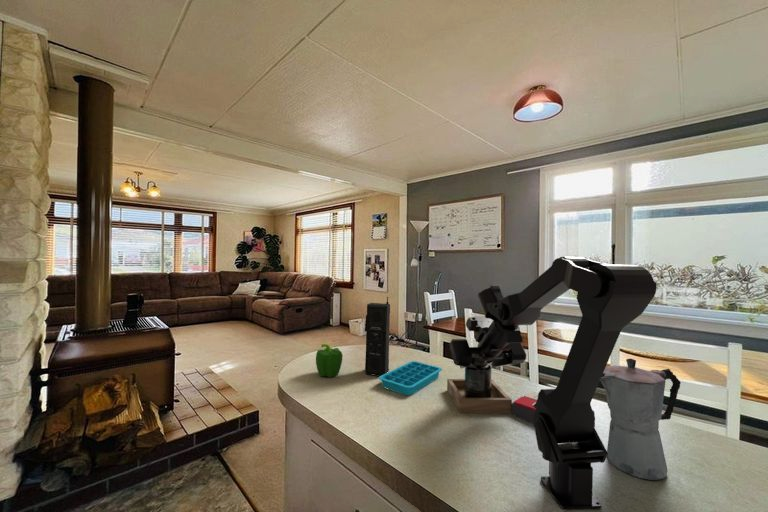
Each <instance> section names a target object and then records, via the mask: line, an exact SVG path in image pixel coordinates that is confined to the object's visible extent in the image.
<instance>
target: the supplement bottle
mask: <svg viewBox="0 0 768 512" xmlns="http://www.w3.org/2000/svg"><path fill="white" fill-rule="evenodd" d="M492 371H493V370H492V366H491V365H490V364H489V359H486V360H484V358H483V357H476V358H472V362H471V364H470V366H468V367H465V368H464V379H465V390H464V391H465V392H464V394H465V398H491V379H492Z"/></svg>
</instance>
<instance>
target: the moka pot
mask: <svg viewBox="0 0 768 512" xmlns="http://www.w3.org/2000/svg"><path fill="white" fill-rule="evenodd" d="M625 360H626V364H627V365H626V366H625V365H614V364H613V365H609V366H606V367H605V370H604V372H603V374H602V377H601V379H600V382H601V384H602V386H603V389H604V390H605V391H604V392H605V397H606V404H607V407H608V409H609V413H610V414H609V415H610V419H611V420H610V421H609V430H608V439H607V447H606V448H607V449H606V451H607V453H608V455H607V457H606V458H607V459H608V461H609V463H611V464H612V465H613V466H614V467H615V468H617V469H619V470H620V471H622V472H624V473H626V474H628V475H630V476H633V477H635V478H639V479H642V480H643V479H645V480H648V481H649V480H650V481H654V480H656V481H657V480H663V479H665V478H666V477H667V475H668V464H667V461H666V457H665V452H664V447H663V441H662V437H661V433H660V430H659V427H660V425H659V424H660V421H663V420H670V419H671V416H672V414H673V411H674V407H675V404H676V401H677V400H676V399H677V398H678V393H679V390H680V389H681V388H680V387H681V381H680V380H679V379H678V378H677V376H676V375H675V374H674V372H673V371H672V370H671V369H669V368H666V369H661V370H659V369H651V370H647V369H643V368H639V367H636V363H637V360H636V359H634V358H626V359H625ZM666 380H670V381H671V383H672V386H670V388H669V398H668V401H667V406H666V409H665V411H664V412H663V405H664V398H665V388H666Z"/></svg>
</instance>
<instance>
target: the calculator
mask: <svg viewBox="0 0 768 512" xmlns="http://www.w3.org/2000/svg"><path fill="white" fill-rule="evenodd" d="M538 393H539V392H536V391H531V390H530V391H529V392H528V393H526V394H524V395H523V396H521V397H519V398H518V399H515V400H513V401H512V403H511V413H510V414H511V416H514V417H517V418H519V419H522V420H524V421H526V422H528V423H530V424H531V423H532V424H533V425H534V422H533V418H534V412H535V409H536V408H534V405H535V404H536V402H537V399H538ZM593 413H594V416H595V410H593ZM595 417H596V416H595ZM594 427H596V422H595V423H594Z"/></svg>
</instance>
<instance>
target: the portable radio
mask: <svg viewBox="0 0 768 512" xmlns="http://www.w3.org/2000/svg"><path fill="white" fill-rule="evenodd" d="M390 313H391V304H390V303H389V296H386V303H380V302H379V303H378V302H370V303H367V304H366V315H365V322H364V323H365V324H364V332H366V336H365V337H366V338H365V359H364V360H365V364H364V374H365V373H367V374H366V375H370V374H374V375H373V376H377V375H384V374H386V373H387V372H389V365H390V359H389V357H390V323H391V320H390V319H391V314H390Z"/></svg>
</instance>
